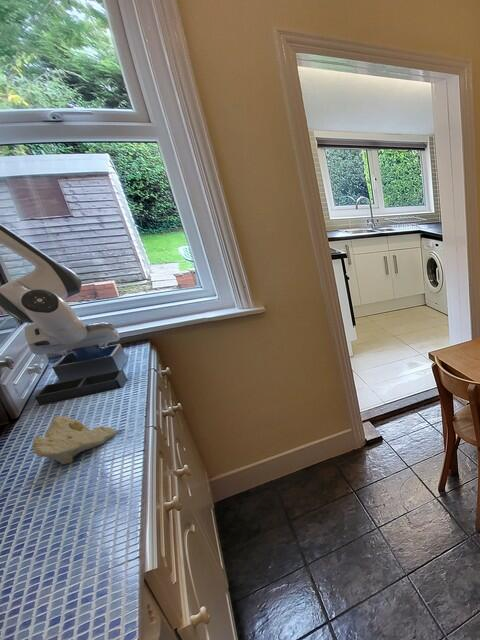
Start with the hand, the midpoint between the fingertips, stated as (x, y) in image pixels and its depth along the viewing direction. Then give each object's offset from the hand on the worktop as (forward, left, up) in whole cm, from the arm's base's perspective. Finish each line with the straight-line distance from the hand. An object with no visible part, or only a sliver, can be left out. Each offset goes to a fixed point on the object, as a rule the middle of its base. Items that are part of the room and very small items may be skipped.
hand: (85, 350), depth 137 cm
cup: (0, 0, -7) cm, 7 cm away
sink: (0, 0, -8) cm, 8 cm away
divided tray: (+2, -21, -8) cm, 23 cm away
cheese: (+10, -67, -8) cm, 68 cm away
